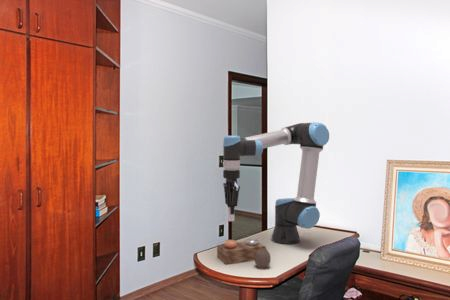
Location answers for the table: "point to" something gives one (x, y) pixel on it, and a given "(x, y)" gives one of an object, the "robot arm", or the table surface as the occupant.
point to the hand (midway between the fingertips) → (231, 220)
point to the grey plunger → (251, 242)
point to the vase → (262, 257)
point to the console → (237, 253)
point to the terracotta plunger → (230, 243)
